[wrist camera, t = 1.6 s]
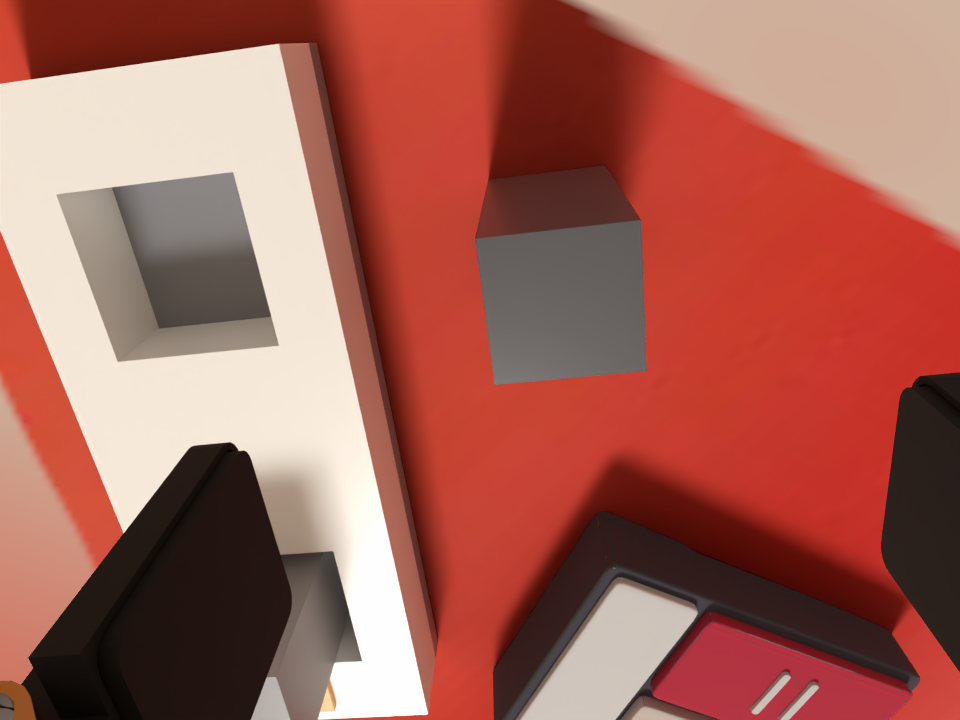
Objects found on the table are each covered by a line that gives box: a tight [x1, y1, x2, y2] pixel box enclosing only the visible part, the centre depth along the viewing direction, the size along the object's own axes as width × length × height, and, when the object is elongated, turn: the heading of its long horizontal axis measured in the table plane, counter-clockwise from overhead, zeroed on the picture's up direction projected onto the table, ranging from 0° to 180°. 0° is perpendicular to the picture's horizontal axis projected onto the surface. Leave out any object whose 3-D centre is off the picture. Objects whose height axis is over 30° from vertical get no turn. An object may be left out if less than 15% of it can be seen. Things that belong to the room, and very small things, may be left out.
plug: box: [475, 165, 647, 385], centre depth 22 cm, size 4×4×8 cm
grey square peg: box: [251, 551, 349, 720], centre depth 27 cm, size 4×4×8 cm
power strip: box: [0, 43, 438, 719], centre depth 27 cm, size 10×26×4 cm, turn 7°
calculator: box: [493, 512, 920, 720], centre depth 32 cm, size 11×4×15 cm
